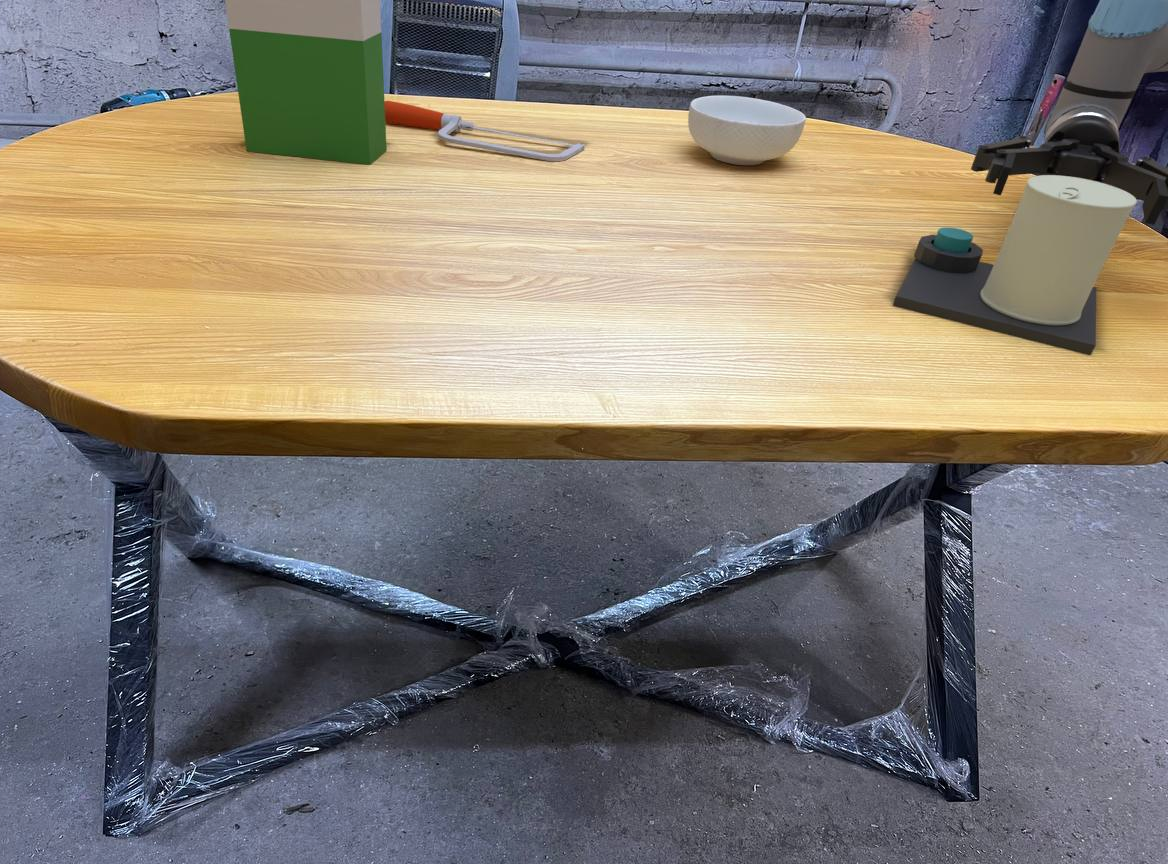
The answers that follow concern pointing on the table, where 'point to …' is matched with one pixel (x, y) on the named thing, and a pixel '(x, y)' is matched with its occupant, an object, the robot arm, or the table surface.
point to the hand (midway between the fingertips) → (1077, 195)
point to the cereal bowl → (744, 128)
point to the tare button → (953, 240)
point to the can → (1056, 248)
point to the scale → (955, 295)
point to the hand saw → (453, 123)
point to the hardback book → (310, 77)
